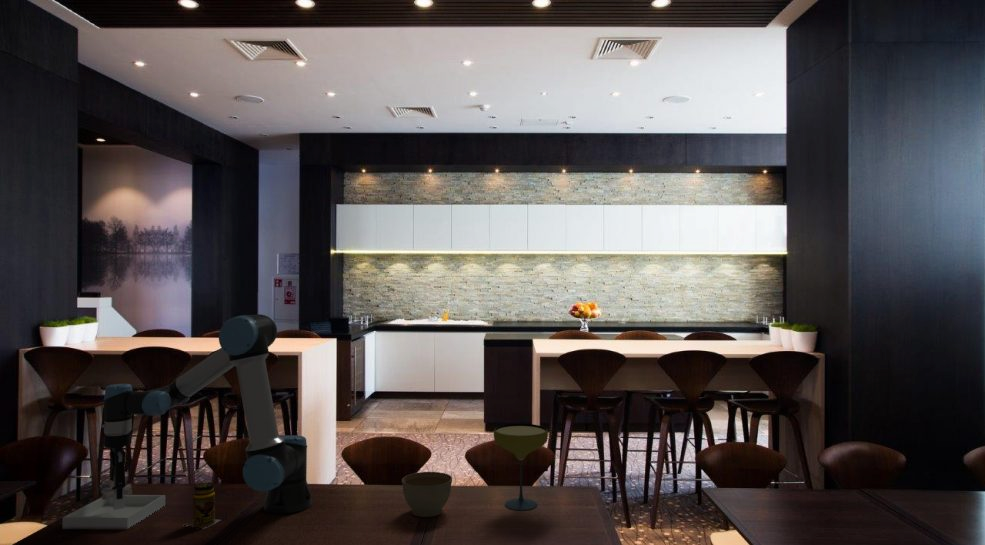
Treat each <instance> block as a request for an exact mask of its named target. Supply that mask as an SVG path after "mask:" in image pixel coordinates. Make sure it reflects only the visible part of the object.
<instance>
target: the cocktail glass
mask: <svg viewBox="0 0 985 545" xmlns="http://www.w3.org/2000/svg"><path fill="white" fill-rule="evenodd" d="M548 438H549V433H548V429H547V427H545V426H542V425H538V424H531V423H510V424H509V423H508V424H502V425H498V426H497V427H495V428H494V430H493V439H494V442H495V443H496V444H497V446H499V447H500V448H502V449H503V450H505V451H508V452H510V453H512V454H513V455H514V456H515V458H516V459H517V460H518V461H519V496H518V498H513V499H509V500H506V501H505V503H504V507H506V508H507V509H509V510H512V511H521V512H524V511H531V510H534V509H536V508H537V507H538V502H536V501H535V500H532V499H531V498H530V499H529V498H524V494H523V460H525V458H526V457H527V456H528V454H530V453H532V452H534V451H537V450H539V449H540V448H542V447H543V446H544V445H545V444H546V443H547V442H548Z"/></svg>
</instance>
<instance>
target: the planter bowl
mask: <svg viewBox="0 0 985 545" xmlns="http://www.w3.org/2000/svg"><path fill="white" fill-rule="evenodd" d="M452 481H453V477H452V476H451V474H448V473H445V472H439V471H419V472H414V473H411V474H408V475H407V474H406V475H405V476H404V477H403V478H402V479H401V483H402V492H403V496H404V499H405V501H406V503H407V505H408V506H409V508H410V510H411V513H412V514H413V515H414V516H416V517H420V518H421V517H422V518H430V517H431V518H432V517H435V516H439V515H440V514H441V513H442V512H443V508H444V506H446V504H447V502H448V500H449V498H450V494H451V490H452V483H453V482H452Z"/></svg>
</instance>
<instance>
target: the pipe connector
mask: <svg viewBox="0 0 985 545" xmlns="http://www.w3.org/2000/svg"><path fill="white" fill-rule="evenodd" d="M119 484H121V483H119ZM114 486H115V481H114ZM100 492H101V497H100V498H102V499H103V500H105V499H108V498H110V497H113V509H114V490H112V488H110V487H103V488H102V489H101V490H100ZM124 495H133V489H132V484H130V483H129V484H126V486H125V487H124Z"/></svg>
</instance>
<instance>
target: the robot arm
mask: <svg viewBox="0 0 985 545" xmlns="http://www.w3.org/2000/svg"><path fill="white" fill-rule="evenodd" d="M277 336H278V328H277V325H276V322H275V321H274V320H273V319H272V318H271V317H269V316H267V315H266V314H265V315H264V314H260V313H259V314H242V315H237V316H234V317H231V318H229V319H228V320H226V321H225V322H224V323H223V325H222V326H221V328H220V330H219V334H218V344H219V345H220V348H219V349H217V350H216V351H215V352H213V353H211V355H209V356H207V357H206V358H205V359H203V360H202V361H200V362H199V363H198V364H196V365H194V366H193V367H192V368H190V369H189V370H187V371H185V373H183V374H181V376H179V377H178V378H177V379H175V380H174V381H172V382H171V383H169V384H168V385H165V386H161V387H159V388H153V389H150V390H133V385H132V384H130V383H117V384H116V383H114V384H110V385H107V386H106V387H105V388H104V395H103V396H104V397H103V407H104V408H103V410H104V414H103V415H104V418H103V422H104V423H103V424H102V425H101V428H103V433H104V436H103V447H104V448H105V449H109V454H108V455H109V475H108V477H109V480H110V481H109V488H112V490H114V510H118V509H123V508H124V487H125V486H126V485H127V484H126V451H125V450H124V447H127V446H130V445H131V443H132V432H131V431H132V430H133V429H132V427H133V426H132V425H133V418H132V416H154V417H155V416H162V415H165V414H166V412H168V410H169V409H172V408H175V407H177V408H178V407H181V406H182V405H184V404H186V403H188V401H189V400H190V399H191V397H192V396H193V395H195V394H197V393H198V392H199V391H200V390H202V389H203V388H205V387H206V386H209V384H211V383H212V382H214V381H215V380H216V379H218V378H219V377H221V376H222V375H224V374H225V373H227V372H228V371H230V370H231V369H233V367H235V368H236V372H237V377H238V378H237V379H238V385H239V390H240V395H241V401H242V405H243V412H244V418H245V423H246V428H247V434H248V440H249V442H248V445H247V447H246V448H245V453H246V454H245V455H246V459H247V460H246V461H245V462H244V465H243V467H242V478H243V480H244V482H245V484H246V485H247V486H248V487H249V488H251V489H253V490H254V491H256V492H261V493H263V492H266V495H265V498H264V501H263V510H264V512H267V513H269V514H275V515H276V514H277V515H284V514H285V515H287V514H293V513H297V512H301V511H304V510H306V509H308V508H310V507H311V506H312V504H313V497H312V494H311V490H310V487H309V485H308V481H307V473H308V472H307V465H308V464H307V463H308V462H307V460H308V458H307V457H308V454H307V453H308V444H307V438H306V437H305V436H303V435H288V434H287V435H280V434H279V431H278V425H277V424H278V423H277V418H276V412H275V409H274V408H275V406H274V402H273V397H272V391H271V390H272V389H271V386H270V380H269V379H270V378H269V375H268V370H267V363H266V359H267V358H268V357H269V355H270V351H269V347H271V345H273V344H274V342H275V341H276V339H277ZM114 481H115V486H114ZM119 483H120V484H119ZM110 502H113V497H110Z"/></svg>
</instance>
